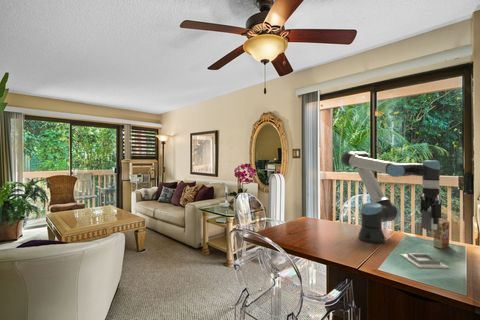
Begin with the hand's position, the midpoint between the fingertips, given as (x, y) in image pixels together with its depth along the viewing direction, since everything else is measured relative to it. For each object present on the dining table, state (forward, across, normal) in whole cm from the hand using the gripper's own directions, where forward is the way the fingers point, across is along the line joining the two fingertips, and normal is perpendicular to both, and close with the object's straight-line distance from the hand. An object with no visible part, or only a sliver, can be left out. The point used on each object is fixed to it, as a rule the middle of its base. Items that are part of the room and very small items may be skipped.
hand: (430, 227), depth 131 cm
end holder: (+14, -13, +13) cm, 23 cm away
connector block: (+1, 0, 0) cm, 1 cm away
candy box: (+14, +8, -12) cm, 20 cm away
